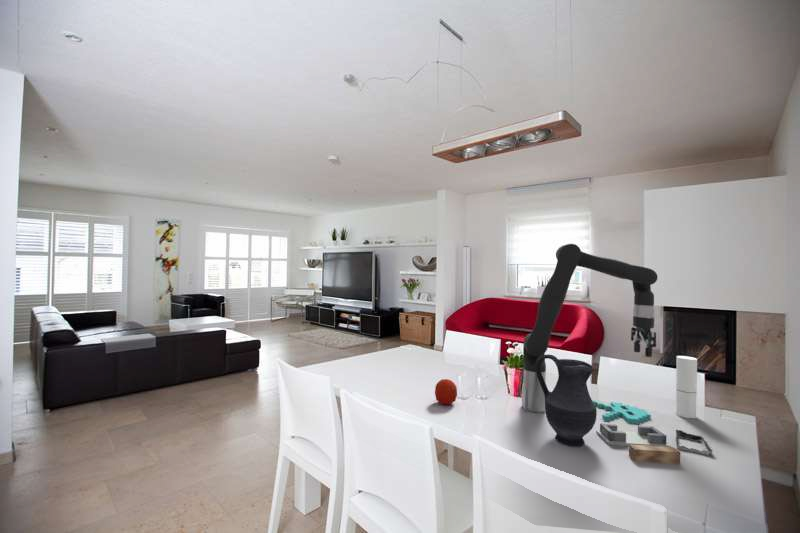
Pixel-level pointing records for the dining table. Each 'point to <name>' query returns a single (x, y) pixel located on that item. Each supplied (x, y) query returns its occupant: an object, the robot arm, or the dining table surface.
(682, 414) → the cylindrical container
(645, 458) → the slat
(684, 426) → the dining table surface
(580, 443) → the pitcher
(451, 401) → the apple
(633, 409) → the alien figure
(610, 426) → the end caps
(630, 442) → the cradle board
